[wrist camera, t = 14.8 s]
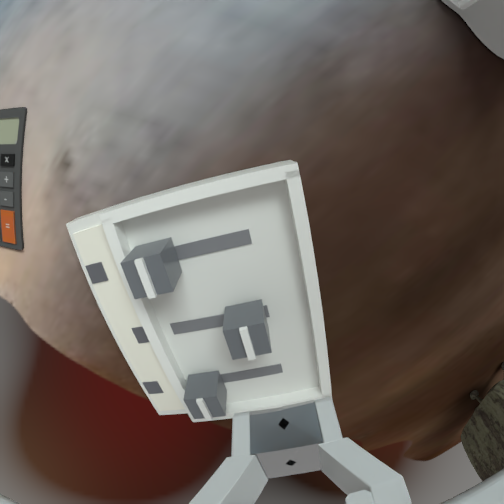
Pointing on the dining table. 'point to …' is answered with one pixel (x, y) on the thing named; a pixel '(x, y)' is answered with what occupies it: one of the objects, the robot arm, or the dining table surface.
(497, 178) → the dining table surface
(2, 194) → the calculator
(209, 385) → the tab
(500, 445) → the tabletop clock
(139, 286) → the tab
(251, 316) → the tab
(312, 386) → the switch bank
